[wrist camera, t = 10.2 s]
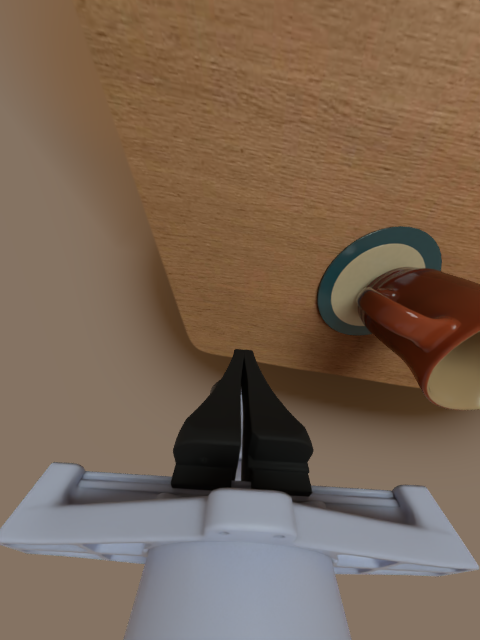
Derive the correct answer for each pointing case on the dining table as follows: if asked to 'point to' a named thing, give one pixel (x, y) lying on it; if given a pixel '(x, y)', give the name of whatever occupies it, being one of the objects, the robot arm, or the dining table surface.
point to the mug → (429, 330)
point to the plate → (370, 271)
